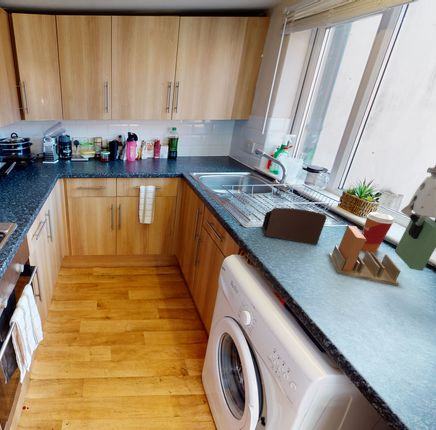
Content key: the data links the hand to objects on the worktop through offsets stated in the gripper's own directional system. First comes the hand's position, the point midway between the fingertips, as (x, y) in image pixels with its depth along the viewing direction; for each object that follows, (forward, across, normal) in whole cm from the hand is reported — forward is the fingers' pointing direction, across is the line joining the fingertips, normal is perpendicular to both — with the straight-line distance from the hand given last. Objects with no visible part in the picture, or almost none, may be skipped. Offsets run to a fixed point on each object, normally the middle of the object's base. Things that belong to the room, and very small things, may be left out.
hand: (420, 237), depth 80 cm
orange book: (+20, -8, +15) cm, 27 cm away
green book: (+8, 0, 0) cm, 8 cm away
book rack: (+21, -3, +15) cm, 26 cm away
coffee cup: (+21, +4, +33) cm, 40 cm away
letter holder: (+22, -24, +33) cm, 46 cm away
